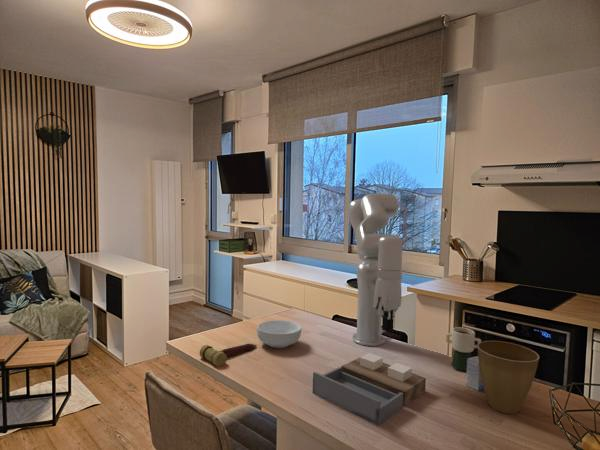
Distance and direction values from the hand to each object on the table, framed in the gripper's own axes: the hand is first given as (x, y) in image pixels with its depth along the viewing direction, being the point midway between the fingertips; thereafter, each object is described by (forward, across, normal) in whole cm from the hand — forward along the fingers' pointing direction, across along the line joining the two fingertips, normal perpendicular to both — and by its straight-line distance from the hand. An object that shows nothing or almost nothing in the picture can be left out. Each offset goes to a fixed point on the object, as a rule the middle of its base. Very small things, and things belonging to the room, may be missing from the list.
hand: (387, 330), depth 127 cm
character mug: (+14, -21, +16) cm, 30 cm away
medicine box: (+14, -13, +25) cm, 32 cm away
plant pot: (+14, -5, +34) cm, 37 cm away
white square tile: (+10, +8, -1) cm, 12 cm away
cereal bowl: (+13, +10, -41) cm, 44 cm away
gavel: (+14, +29, -44) cm, 55 cm away
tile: (+10, +8, +9) cm, 16 cm away
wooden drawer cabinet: (+14, +9, +4) cm, 17 cm away
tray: (+14, +22, +4) cm, 27 cm away
